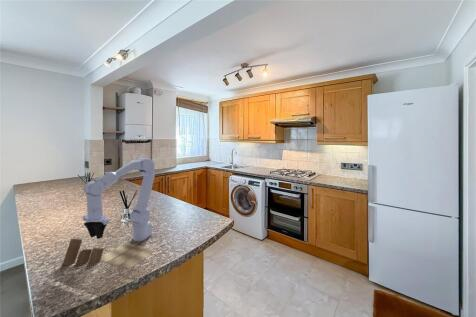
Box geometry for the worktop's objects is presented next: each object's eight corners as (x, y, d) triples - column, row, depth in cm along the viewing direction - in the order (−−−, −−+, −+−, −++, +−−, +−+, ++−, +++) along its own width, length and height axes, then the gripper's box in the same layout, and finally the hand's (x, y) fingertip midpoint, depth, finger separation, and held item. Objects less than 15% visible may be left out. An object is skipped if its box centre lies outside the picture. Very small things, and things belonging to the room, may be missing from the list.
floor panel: (137, 247, 106) (137, 245, 106) (156, 252, 101) (156, 250, 101) (107, 265, 91) (107, 262, 91) (128, 272, 87) (128, 269, 86)
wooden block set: (101, 267, 94) (109, 242, 97) (84, 270, 86) (93, 243, 89) (70, 259, 98) (78, 236, 101) (50, 262, 90) (60, 236, 93)
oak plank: (126, 244, 108) (126, 242, 108) (137, 247, 106) (137, 245, 106) (95, 261, 94) (95, 258, 93) (107, 265, 91) (106, 262, 91)
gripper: (74, 208, 94) (76, 238, 95) (97, 212, 89) (99, 244, 90) (90, 204, 101) (92, 232, 102) (112, 207, 96) (114, 237, 97)
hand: (96, 237), depth 97 cm, fingers open, 4 cm apart
